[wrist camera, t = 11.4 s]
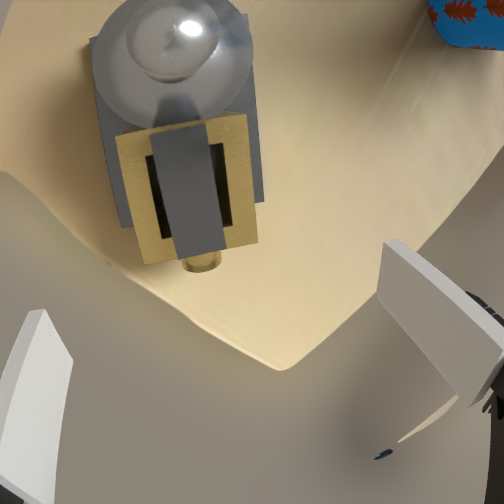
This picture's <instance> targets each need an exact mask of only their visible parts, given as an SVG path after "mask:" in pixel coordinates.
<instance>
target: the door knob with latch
mask: <svg viewBox="0 0 504 504" xmlns="http://www.w3.org/2000/svg"><path fill="white" fill-rule="evenodd" d="M89 41H90V53H91V64H92V73H93V82H94V90H95V97H96V104H97V111H98V117H99V124H100V130H101V135H102V141H103V146H104V152H105V157H106V162H107V167H108V172H109V176H110V181H111V185H112V190H113V194H114V198H115V203H116V207H117V211H118V215H119V219H120V223H121V227H122V228H125V227H130V226H134V228H135V232H136V236H137V240H138V244H139V247H140V251H141V255H142V258H143V262H144V265H147V264H152V263H157V262H162V261H167V260H172V259H177V258H178V257H177V253H176V250H175V246H174V242H173V238H172V234H171V230H170V226H169V222H168V218H167V214H166V210H165V206H164V201H163V197H162V193H161V188H160V184H159V179H158V175H157V170H156V166H155V161H154V156H153V151H152V146H151V141H150V136H149V135H150V134H151V133H155V132H160V131H164V130H169V129H173V128H178V127H183V126H188V125H193V124H198V123H203V122H204V123H205V124H206V130H207V136H208V142H209V149H210V155H211V161H212V167H213V173H214V179H215V184H216V190H217V196H218V202H219V208H220V213H221V219H222V225H223V230H224V236H225V241H226V247H227V249H229V248H234V247H239V246H244V245H250V244H255V243H258V235H257V224H256V213H255V203H259V202H264V192H263V179H262V167H261V155H260V143H259V131H258V120H257V108H256V97H255V86H254V76H253V65H252V61H253V43H252V37H251V34H250V31H249V24H248V14H240V12H239V11H238V10H237V9H236V8H235V6H234V5H233V4H232V3H230V2H229V1H228V0H127V1H126V2H125V3H123V4H122V5H121V6H120V7H118V8H117V9H116V10H115V11H114V12H113V14H112V15H111V16H110V17H109V18H108V20H107V21H106V22H105V24H104V26H103V27H102V29H101V31H100V33H99V35H98V36H96V37H92V38H89ZM181 261H182V266H183V268H184V269H185V270H186V271H189V272H194V273H200V272H206V271H209V270H212V269H214V268H216V267H217V266H218V265H219V264H220V263H221V261H222V258H221V251H215V252H211V253H206V254H202V255H198V256H193V257H189V258H184V259H181Z"/></svg>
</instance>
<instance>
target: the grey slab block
mask: <svg viewBox="0 0 504 504" xmlns="http://www.w3.org/2000/svg"><path fill="white" fill-rule="evenodd" d="M149 136H150V141H151V146H152V151H153V156H154V161H155V166H156V170H157V175H158V179H159V184H160V188H161V193H162V197H163V201H164V206H165V210H166V214H167V218H168V222H169V226H170V230H171V234H172V238H173V242H174V246H175V250H176V253H177V257H178V260H180V259H184V258H189V257H193V256H198V255H202V254H206V253H211V252H215V251H220V250H224V249H227V247H226V241H225V236H224V230H223V225H222V219H221V213H220V208H219V202H218V196H217V190H216V184H215V179H214V173H213V167H212V161H211V155H210V149H209V142H208V136H207V130H206V124H205V123H204V122H203V123H198V124H193V125H188V126H183V127H178V128H173V129H169V130H164V131H160V132H155V133H151V134H150V135H149Z"/></svg>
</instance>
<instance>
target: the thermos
mask: <svg viewBox="0 0 504 504" xmlns="http://www.w3.org/2000/svg"><path fill="white" fill-rule="evenodd" d="M428 7H429V14H430V16H431V19H432V22H433V25H434V26H435V28H436V30H437V31H438V33H439V35H440V36H441V37H442V38H443V39H444V40H445V41H446V42H447V43H449V44H450V45H452V46H454V47H462V48H473V49H484V50H499V51H504V0H428Z"/></svg>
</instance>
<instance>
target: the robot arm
mask: <svg viewBox="0 0 504 504" xmlns="http://www.w3.org/2000/svg"><path fill="white" fill-rule="evenodd" d="M376 299H377V300H378V301H379V302H380V303H381V305H382V306H383V307H384V308H385V309H386V310H387V311H388V312H389V314H390V315H391V316H392V317H393V318H394V319H395V320H396V321H397V323H398V324H399V325H400V326H401V327H402V328H403V329H404V331H405V332H406V333H407V334H408V335H409V336H410V338H411V339H412V340H413V341H414V342H415V343H416V345H417V346H418V347H419V348H420V349H421V351H422V352H423V353H424V354H425V355H426V356H427V357H428V359H429V360H430V361H431V362H432V363H433V365H434V366H435V367H436V368H437V370H438V371H439V372H440V373H441V374H442V376H443V377H444V378H445V379H446V381H447V382H448V383H449V385H450V386H451V387H452V388H453V390H454V391H455V392H456V393H457V395H458V396H459V397H460V398H461V400H462V401H463V402H464V403H465V405H466V406H467V407H468V408H469V407H471V406H472V405H474V404H475V403H477V402H478V401H480V400H481V399H482V398H483V397H484V395H485V394H486V392H487V391H488V389H489V388H490V387H491V388H492V389H493V391H494V392H493V393H492V395H491V396H490V398H489V399H488V401H487V402H486V404H485V405H484V406H483V410H482V412H483V413H484V412H485V411H486V410H487V408H488V407H489V406H490V404H491V408H490V409H489V412H488V413H491V441H490V460H489V471H488V480H487V488H486V495H485V502H484V504H504V319H503V318H501V317H500V316H499V315H498V314H496V312H495V311H494V310H493V309H491V308H489V307H488V305H487V304H486V303H485V302H484V301H482V300H481V299H480V298H479V297H477V296H475V295H473V294H471V293H469V292H467V291H466V292H464V291H463V290H462V289H460V288H459V287H458V286H457V285H456V284H454V283H453V282H452V281H451V280H450V279H449V278H447V277H446V276H445V275H444V274H442V273H441V272H440V271H439V270H438V269H436V268H435V267H434V266H433V265H431V264H430V263H429V262H427V261H426V260H425V259H424V258H423V257H421V256H420V255H419V254H418V253H416V252H415V251H414V250H412V249H411V248H410V247H408V246H407V245H406V244H405V243H403V242H402V241H401V240H399V239H395V240H390V241H386V242H383V250H382V258H381V266H380V273H379V279H378V286H377V292H376ZM72 365H73V359H72V358H71V356H70V354H69V353H68V351H67V349H66V347H65V346H64V344H63V342H62V340H61V339H60V337H59V335H58V333H57V331H56V330H55V328H54V326H53V324H52V322H51V320H50V318H49V316H48V314H47V312H46V310H45V309H40V310H34V311H29V313H28V315H27V317H26V319H25V321H24V323H23V326H22V328H21V330H20V332H19V335H18V337H17V339H16V342H15V344H14V346H13V349H12V351H11V354H10V356H9V359H8V361H7V364H6V367H5V369H4V371H3V374H2V377H1V380H0V504H23V503H24V501H25V502H27V503H29V504H54V494H55V477H56V465H57V456H58V447H59V439H60V431H61V425H62V418H63V412H64V406H65V400H66V395H67V389H68V384H69V379H70V375H71V369H72Z"/></svg>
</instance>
